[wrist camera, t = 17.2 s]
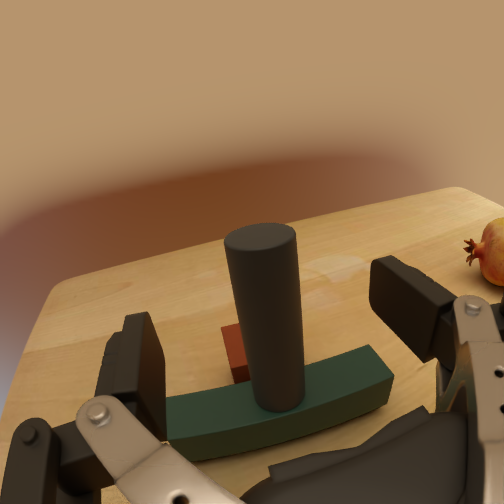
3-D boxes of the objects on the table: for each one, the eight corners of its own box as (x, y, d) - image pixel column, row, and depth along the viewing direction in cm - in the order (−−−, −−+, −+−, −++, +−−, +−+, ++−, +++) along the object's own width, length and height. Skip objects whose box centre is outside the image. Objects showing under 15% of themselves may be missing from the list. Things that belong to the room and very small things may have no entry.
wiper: (186, 469, 14) (89, 288, 9) (182, 430, 16) (107, 253, 12) (385, 411, 15) (417, 217, 11) (363, 380, 18) (376, 199, 13)
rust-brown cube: (242, 410, 18) (230, 368, 16) (231, 369, 21) (220, 326, 20) (302, 394, 18) (300, 350, 16) (284, 356, 22) (280, 312, 20)
